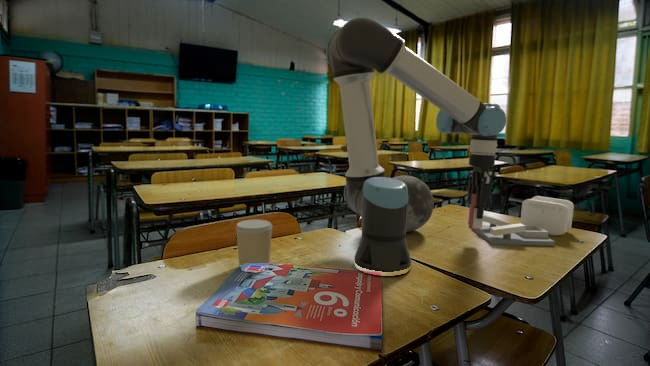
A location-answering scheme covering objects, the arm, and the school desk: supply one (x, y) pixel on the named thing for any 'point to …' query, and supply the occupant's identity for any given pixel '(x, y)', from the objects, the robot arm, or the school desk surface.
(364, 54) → the robot arm
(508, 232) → the block
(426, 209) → the moon model
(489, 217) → the block
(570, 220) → the cable organizer
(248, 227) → the coffee cup
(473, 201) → the red capsule
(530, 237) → the panel
